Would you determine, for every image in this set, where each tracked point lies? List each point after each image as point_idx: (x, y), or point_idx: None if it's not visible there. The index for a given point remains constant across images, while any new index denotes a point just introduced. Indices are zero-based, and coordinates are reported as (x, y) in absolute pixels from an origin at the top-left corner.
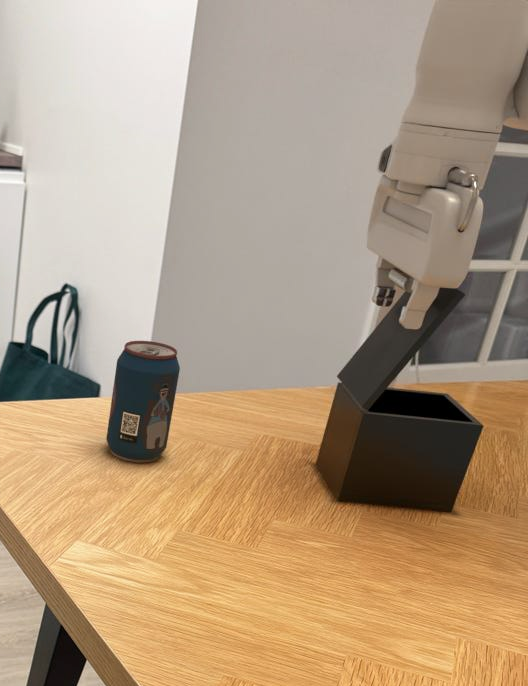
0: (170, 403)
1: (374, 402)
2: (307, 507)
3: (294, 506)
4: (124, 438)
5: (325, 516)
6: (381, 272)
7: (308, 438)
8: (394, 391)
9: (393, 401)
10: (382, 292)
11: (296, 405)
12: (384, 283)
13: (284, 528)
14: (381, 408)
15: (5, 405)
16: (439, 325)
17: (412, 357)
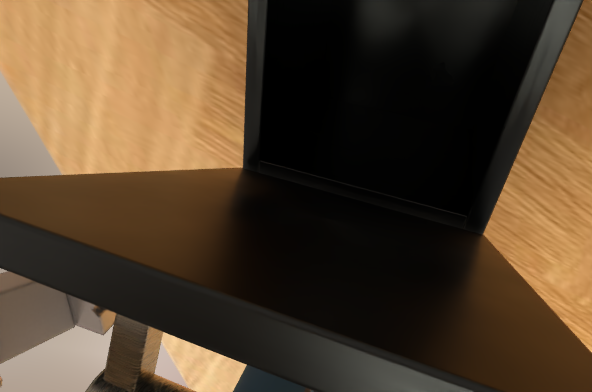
0: (306, 389)
1: (487, 239)
2: (501, 205)
3: (494, 223)
4: None
5: (544, 193)
6: (5, 347)
7: (185, 55)
8: (267, 31)
9: (279, 19)
10: (112, 313)
11: (24, 3)
12: (52, 311)
13: (577, 277)
14: (284, 42)
15: (193, 386)
16: (572, 332)
17: (523, 278)
